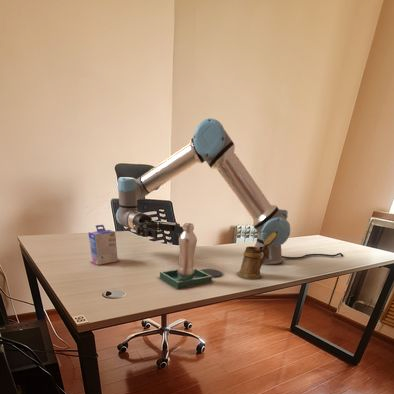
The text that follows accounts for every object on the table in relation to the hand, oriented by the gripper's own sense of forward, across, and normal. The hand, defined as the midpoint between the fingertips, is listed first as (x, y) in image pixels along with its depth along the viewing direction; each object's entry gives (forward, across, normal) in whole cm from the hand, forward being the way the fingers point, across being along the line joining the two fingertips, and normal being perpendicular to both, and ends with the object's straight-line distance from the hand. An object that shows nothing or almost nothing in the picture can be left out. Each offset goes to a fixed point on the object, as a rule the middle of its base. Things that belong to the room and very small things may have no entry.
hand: (171, 233), depth 114 cm
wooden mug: (+20, -29, -16) cm, 38 cm away
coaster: (+9, -14, -15) cm, 23 cm away
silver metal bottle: (+10, 0, -15) cm, 18 cm away
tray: (+10, 0, -15) cm, 18 cm away
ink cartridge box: (-26, +15, -16) cm, 34 cm away
